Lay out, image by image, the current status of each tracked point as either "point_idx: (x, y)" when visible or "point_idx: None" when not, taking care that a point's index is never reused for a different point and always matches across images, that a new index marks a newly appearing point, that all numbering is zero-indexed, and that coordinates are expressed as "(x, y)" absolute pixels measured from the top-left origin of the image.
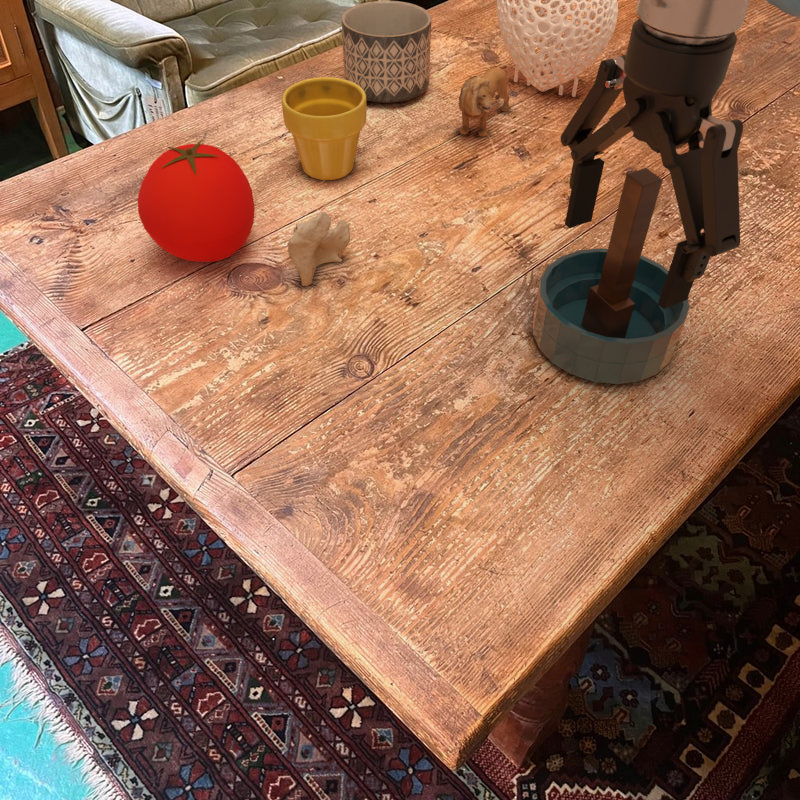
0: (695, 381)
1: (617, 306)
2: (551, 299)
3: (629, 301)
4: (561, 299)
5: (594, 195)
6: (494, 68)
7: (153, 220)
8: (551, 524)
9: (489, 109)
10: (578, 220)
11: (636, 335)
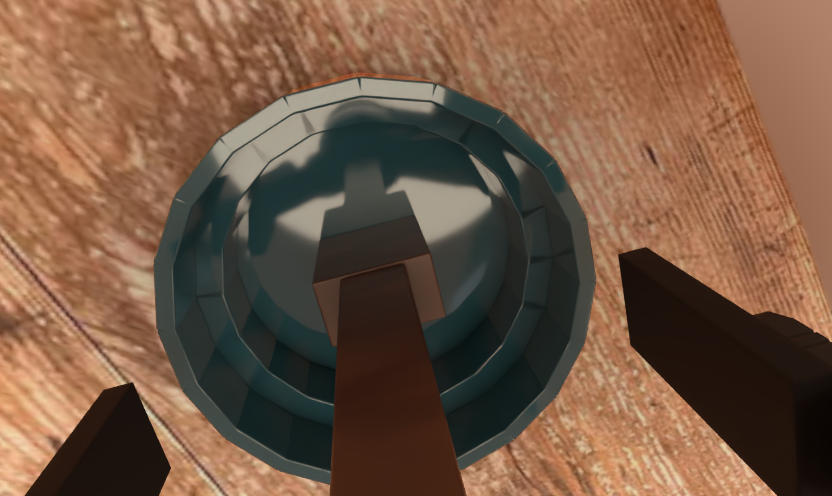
0: (571, 94)
1: (430, 306)
2: (292, 393)
3: (418, 266)
4: (257, 331)
5: (88, 469)
6: None
7: None
8: (761, 487)
9: None
10: (149, 452)
11: (403, 175)
